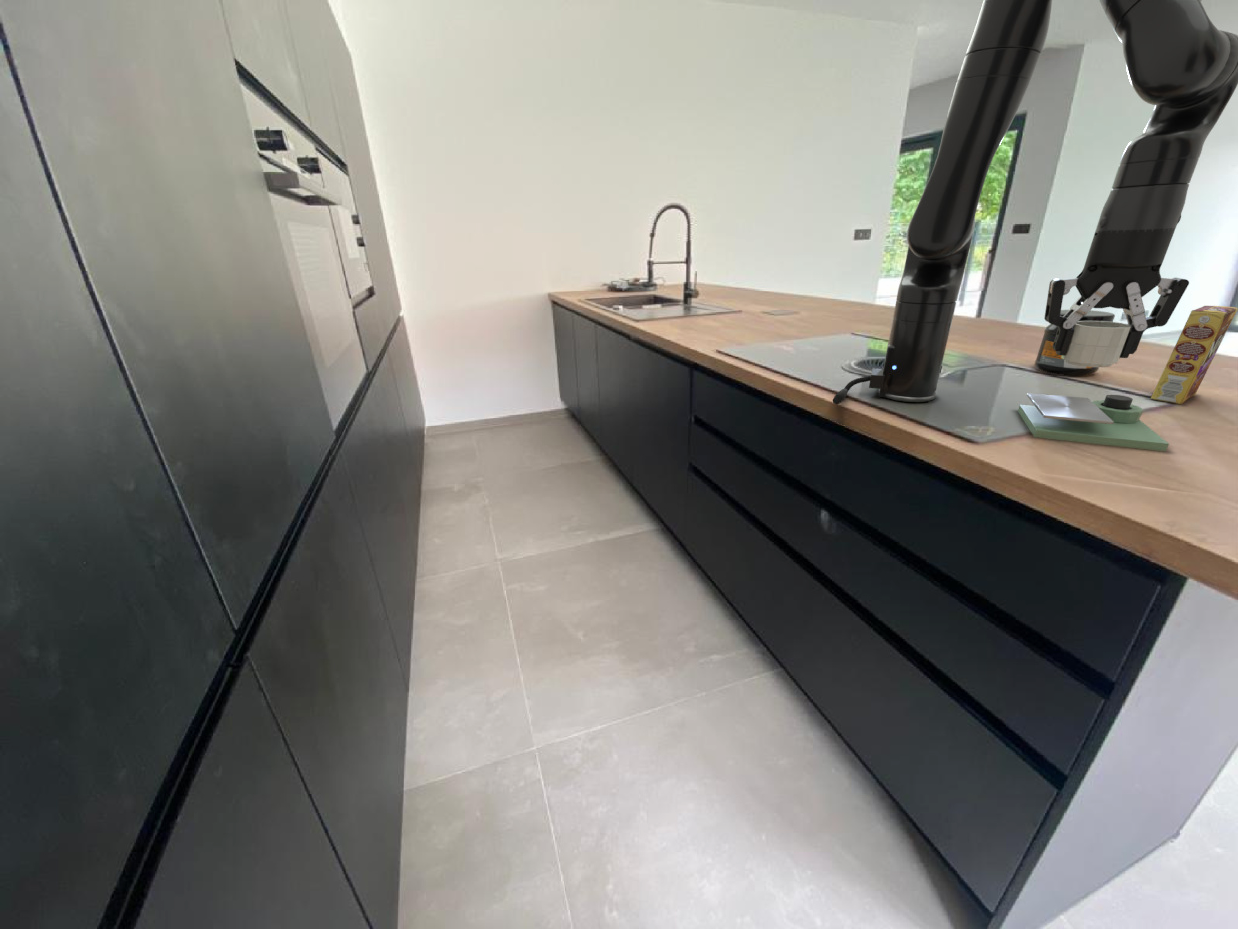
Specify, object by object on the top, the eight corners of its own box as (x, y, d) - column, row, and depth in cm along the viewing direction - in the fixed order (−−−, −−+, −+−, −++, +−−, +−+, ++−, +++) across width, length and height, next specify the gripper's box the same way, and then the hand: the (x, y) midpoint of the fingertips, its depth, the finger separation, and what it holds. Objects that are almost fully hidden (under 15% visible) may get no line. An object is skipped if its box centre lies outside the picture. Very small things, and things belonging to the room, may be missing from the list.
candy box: (1184, 405, 85) (1226, 312, 78) (1149, 399, 88) (1187, 309, 81) (1198, 395, 89) (1239, 306, 83) (1164, 390, 92) (1202, 304, 86)
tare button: (1105, 410, 77) (1110, 399, 76) (1099, 404, 79) (1103, 393, 78) (1131, 412, 75) (1136, 401, 75) (1124, 406, 78) (1128, 395, 77)
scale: (1034, 437, 75) (1040, 418, 73) (1017, 410, 85) (1022, 393, 84) (1165, 451, 68) (1175, 431, 67) (1129, 420, 79) (1136, 402, 78)
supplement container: (1072, 379, 100) (1093, 318, 95) (1020, 367, 110) (1037, 311, 105) (1109, 374, 103) (1132, 313, 98) (1056, 363, 112) (1074, 307, 107)
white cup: (1066, 366, 71) (1079, 327, 69) (1055, 357, 76) (1067, 320, 73) (1123, 369, 68) (1139, 328, 66) (1108, 359, 73) (1122, 321, 71)
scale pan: (1043, 417, 74) (1044, 415, 73) (1026, 395, 83) (1027, 393, 83) (1112, 424, 70) (1114, 421, 70) (1087, 400, 80) (1087, 397, 80)
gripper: (1197, 223, 65) (1146, 353, 72) (1057, 228, 71) (1022, 347, 78) (1229, 223, 59) (1169, 365, 66) (1072, 229, 65) (1033, 358, 72)
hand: (1090, 355), depth 72 cm, fingers closed on white cup, 6 cm apart
